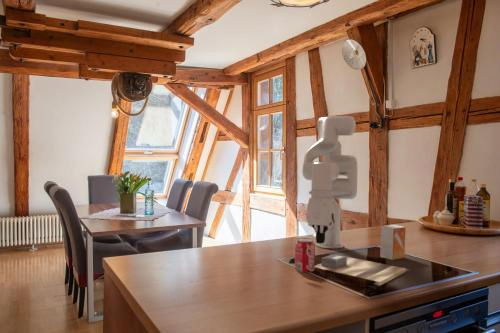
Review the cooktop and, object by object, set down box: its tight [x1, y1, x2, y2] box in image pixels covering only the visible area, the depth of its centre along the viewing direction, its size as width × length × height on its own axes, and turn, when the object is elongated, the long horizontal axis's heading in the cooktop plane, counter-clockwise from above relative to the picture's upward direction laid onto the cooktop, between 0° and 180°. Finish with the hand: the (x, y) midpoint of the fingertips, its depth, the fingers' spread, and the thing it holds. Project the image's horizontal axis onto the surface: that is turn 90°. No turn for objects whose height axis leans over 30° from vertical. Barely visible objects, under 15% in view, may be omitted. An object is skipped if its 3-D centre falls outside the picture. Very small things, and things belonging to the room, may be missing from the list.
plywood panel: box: [315, 255, 407, 286], centre depth 150 cm, size 26×22×1 cm
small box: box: [379, 224, 406, 261], centre depth 170 cm, size 8×6×13 cm
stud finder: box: [320, 253, 348, 269], centre depth 152 cm, size 6×8×3 cm
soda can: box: [294, 237, 316, 273], centre depth 146 cm, size 7×7×12 cm
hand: (320, 242), depth 155 cm, fingers closed
